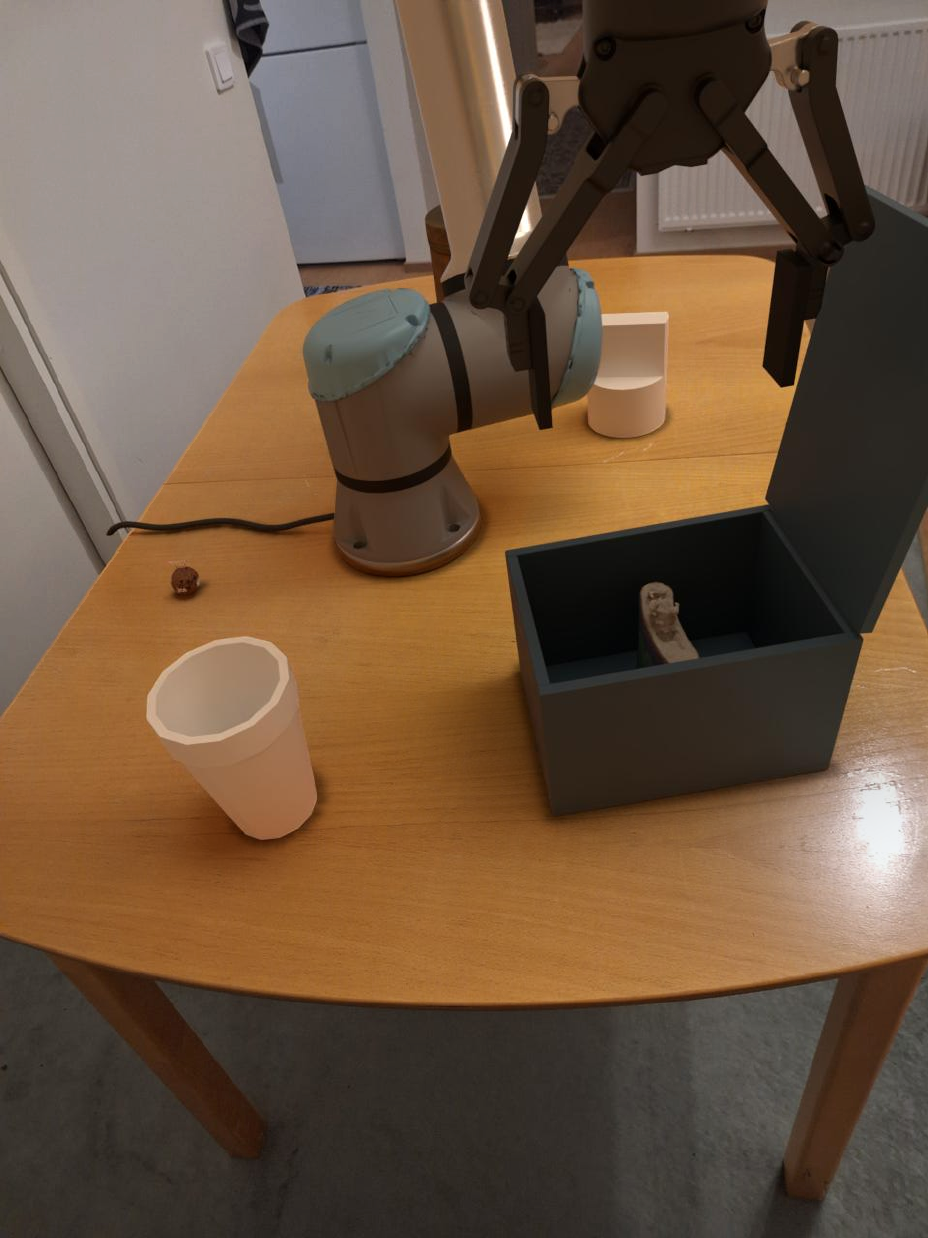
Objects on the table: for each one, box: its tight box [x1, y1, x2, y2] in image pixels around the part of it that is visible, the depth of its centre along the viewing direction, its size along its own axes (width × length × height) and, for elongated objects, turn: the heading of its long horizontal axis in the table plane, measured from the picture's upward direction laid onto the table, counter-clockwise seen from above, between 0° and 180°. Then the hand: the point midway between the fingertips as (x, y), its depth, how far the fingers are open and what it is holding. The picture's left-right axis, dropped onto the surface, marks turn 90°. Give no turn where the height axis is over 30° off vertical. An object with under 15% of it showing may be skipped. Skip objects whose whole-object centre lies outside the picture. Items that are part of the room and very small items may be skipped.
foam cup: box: [145, 635, 318, 841], centre depth 57 cm, size 10×9×13 cm
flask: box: [636, 582, 700, 669], centre depth 58 cm, size 9×3×11 cm, turn 5°
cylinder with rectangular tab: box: [586, 311, 670, 439], centre depth 91 cm, size 9×9×12 cm
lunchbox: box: [504, 503, 864, 817], centre depth 58 cm, size 20×15×13 cm
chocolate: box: [168, 558, 201, 595], centre depth 81 cm, size 3×2×4 cm
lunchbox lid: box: [764, 184, 928, 635], centre depth 46 cm, size 21×15×6 cm
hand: (659, 397), depth 46 cm, fingers open, 13 cm apart
